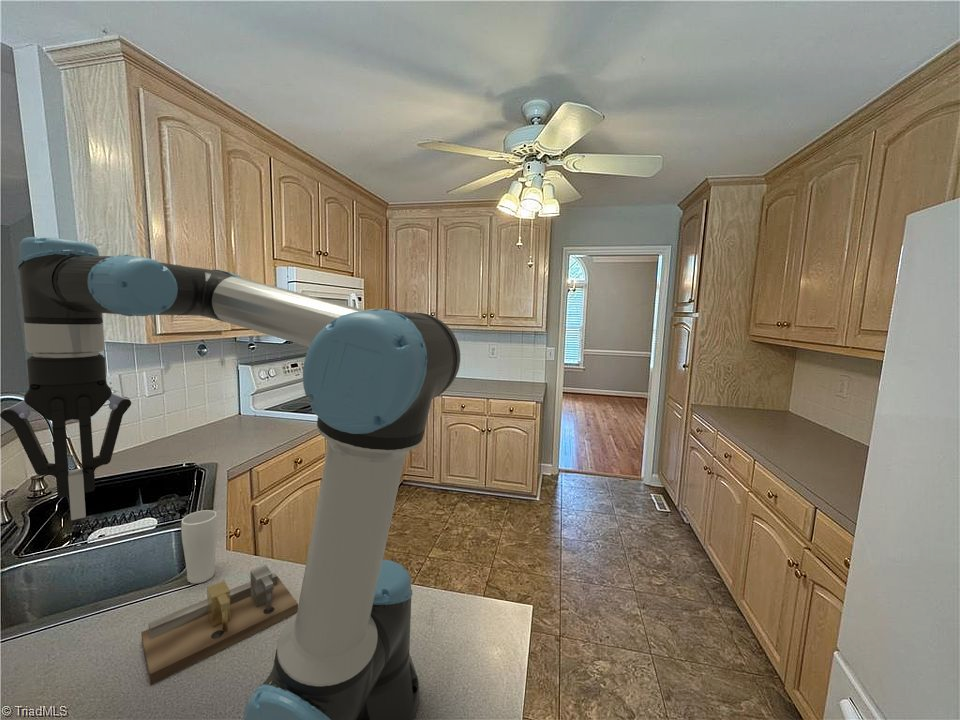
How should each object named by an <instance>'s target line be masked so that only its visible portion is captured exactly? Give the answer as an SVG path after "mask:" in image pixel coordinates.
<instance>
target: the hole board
mask: <svg viewBox="0 0 960 720" xmlns="http://www.w3.org/2000/svg"><path fill="white" fill-rule="evenodd" d="M249 572H250V574H249V575H250V581H248V582H246V583H244V584H241V585H237V586H236V587H233V588H231V589H229V590H230V612H231V619H229V620H228V629H227V630H225V631H223V630H222V623H220V624H218V625H216V626H214V627H213V626H212V624H211V622H210V619H209V617H208V606H207V598H206V599H204V600H201V601H198V602H196V603H193V604H191V605H189V606H187V607H184V608H182V609H179V610H176V611H174V612H172V613H169V614H167V615H164V616H161V617H158V618H156V619H154V620H152V621H149V622H148V628H147V629H146V630H143V631H141V632H140V633H141V645H142V650H143V654H144V659H145V664H146V668H147V674H148V678H149V685H150V686H151V685H154V684H155V683H158V682H160V681H162V680H164V679H166V678H168V677H170V676H172V675H174V674H177V673H178V672H180V671H182V670H184V669H186V668H188V667H191V666H192V665H195V664H197V663H199V662H201V661H202V660H205V659H206V658H208V657H210V656H212V655H213V656H214V655H215V654H217V653H219V652H221V651H223V650H225V649H227V648H228V647H231V646H233V645H235V644H237V643H239V642H241V641H243V640H246V639H247V638H249V637H251V636H254V635H256V634H257V633H260V632H262V631H263V630H265V629H266V630H267V629H268V628H269V627H272V626H274V625H276V624H277V623H280V622H282V621H284V620H286V619H288V618H289V617H290V618H291V617H292V616H294V615H295V614H296V613H297V610H298V605H299V602H298V601H296V600H295V598H294V596H293V595H292V593H291V592H290V591H289V590H288V588H287V587H286V586H285V584H284V583H283V581H282V580H281V579H280V577H279V576H278V575H277V574H276V573H275V571H273V572H272V571H271V570H270V569H269V567H268V565H266V564H265V565H262V566H259V567H256V568H254V569H251V570H250V571H249Z"/></svg>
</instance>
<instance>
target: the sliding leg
mask: <svg viewBox="0 0 960 720" xmlns="http://www.w3.org/2000/svg"><path fill="white" fill-rule="evenodd" d="M230 590H231V589H230V588H229V587H228V584H227V582H226V581H225V580H222V581H220V582H216V583H214V584H212V585H209V586H207V587H206V594H207V595H206V596H207V597H206V599H207V606H208V617H209V619H210V622H211V624H212V626H213V627H214V626H216V625H218V624H220V623H222V630H223V631H225V630H227V629H228V620H229V619H231V612H230Z"/></svg>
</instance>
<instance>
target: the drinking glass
mask: <svg viewBox="0 0 960 720" xmlns="http://www.w3.org/2000/svg"><path fill="white" fill-rule="evenodd" d="M217 514H218V513H217V511H215V510H212V509H205V510H204V509H203V510H198V511H194V512H191V513H189V514H187V515H185V516H184V517H183V518H182V519H181V524H180V525H181V532H180V533H181V542H182V548H183V554H184V560H185V561H184V562H185V568H186V569H185V570H186V580H187V582H188V583H189V582H190V583H189V584H193V585H194V584H195V585H197V584H202V583H204V582H207V581H209V580H210V579H211V578H213V577H214V576H215V573H216V556H217V555H216V554H217V553H216V552H217V541H218V539H217V538H218V516H217Z"/></svg>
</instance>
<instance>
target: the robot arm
mask: <svg viewBox="0 0 960 720" xmlns="http://www.w3.org/2000/svg"><path fill="white" fill-rule="evenodd" d="M18 245H19V248H18V250H19V252H18V254H19V257H18V258H19V259H18V260H19V261H18V262H17V268H18V270H19V271H18V272H19V281H20V282H19V283H20V291H21V302H22V311H23V318H24V319H23V320H24V322H23V329H24V330H23V331H24V341H25V351H26V352H28V354H29V353H30V354H33V355H32V356H28V358H27V359H26V364H27V365H26V366H27V379H28V390H27V392H26V393H25V395H24V397H23V399H22V400H21V401H19V402H18V403H16V404H14V405H13V404H12V406H5V407H4V408H2V410H1V411H0V418H1V419H2V420H3V421H5V422H6V423H7V424H8V425H10V426H12V427H13V430H14V431H15V433H16V435H17V437H18V439H19V440H18V441H20V444H21V446H22V447H23V450H24V452H25V454H26V455H27V457H28V460H29V462H30V464H31V466H32V468H33V470H34V472H35V474H36V475H38V476H53V477H54V478H55V482H56V493H57V496H58V498H59V499H62V498H68V497H69V508H70V521H75V520H79V519H83V518H86V517H87V516H86V515H87V514H86V513H87V512H86V500H85V498H86V496H85V494H86V493H91V492H95V489H96V478H95V471H96V470H97V468H99V467H101V466H105V465H108V464H109V463H111V460H112V457H113V454H114V449H115V446H116V443H117V438H118V435H119V431H120V428H121V424H122V420H123V416H124V414H125V413H126V412H127V411H128V410H129V408H130V407H131V405H132V401H131V399H130V398H129V397H128V396H121V395H117V394H115V393H113V392H112V389H111V387H110V386H109V385H108V383H107V369H106V357H105V356H104V355H103V354H101V353H100V352H103V351H104V350H105V348H106V347H105V335H104V332H105V331H104V319H103V314H112V315H121V316H125V317H148V316H190V317H191V316H196V317H205V318H210V319H213V320H216V321H220V322H223V323H228V324H232V325H235V326H237V327H241V328H244V329H248V330H250V331H254V332H258V333H261V334H263V335H264V334H265V335H268V336H271V337H275V338H278V339H281V340H285V341H287V342H291V343H295V344H298V345H301V346H304V347H308V350H307V352H306V355H305V358H304V362H303V365H302V366H303V368H302V384H303V385H302V386H303V390H304V394H305V396H306V397H309V398H310V401H311V403H310V404H309V406H310V408H311V409H312V411H313V413H314V414H315V415H316V416H317V421H316V429H317V431H318V433H319V434H320V435H321V436H322V437H323V438H324V439H325V440H326V442H328V444H327V449H326V454H325V460H324V466H323V470H322V477H321V481H320V487H319V492H318V498H317V502H316V509H315V513H314V519H313V526H312V530H311V536H310V540H309V547H308V551H307V557H306V563H305V567H304V574H303V579H302V584H301V589H300V594H299V595H300V596H299V601H298V610H297V613H296V614H294V615H292V616H290V618H289V619H288V621H287V622H286V623H285V625H284V626H283V628H282V629H281V631H280V634H279V637H278V639H277V644H276V649H275V655H274V660H273V665H272V669H271V671H270V673H269V675H268V676H267V678H266V679H265V681H264V682H263V683H262V684H260V685H258V686H257V687H256V689H255V690H253V691H254V692H253V694H252V695H251V697H250V698H249V700H248V702H247V703H246V706H245V709H244V717H243V718H244V720H414V718H415V716H416V714H417V711H418V707H419V702H420V701H419V700H420V698H419V697H420V685H419V684H420V682H419V677H418V674H417V672H416V668H415V665H414V663H413V659H412V656H411V654H410V649H411V648H410V647H411V646H410V644H411V641H410V640H411V622H412V621H411V618H412V615H411V614H412V597H413V596H412V595H413V589H412V577H411V575H410V572H409V571H408V570H407V569H406V567H405V566H403V565H402V564H400V563H398V562H396V561H393V560H389V559H384V555H385V551H386V546H387V541H388V537H389V533H390V532H389V531H390V527H391V524H392V518H393V514H394V511H395V504H396V501H397V494H398V491H399V486H400V482H401V477H402V473H403V469H404V463H405V459H406V454H407V453H408V452H411V451H413V449H415V448H418V446H420V445H421V443H422V442H423V439H424V435H425V431H426V426H427V421H428V417H429V412H430V408H431V404H432V400H433V399H435V398H436V397H439V396H441V395H442V394H443V393H444V392H445V391H447V389H449V388H450V386H451V385H453V382H454V381H455V379H456V377H457V375H458V373H459V370H460V365H461V349H460V344H459V342H458V340H457V337H456V335H455V333H454V332H453V330H452V329H451V327H449V326H448V325H447V324H446V323H445V322H443V321H442V320H440V319H439V318H438V317H436V316H433V315H432V314H428V313H424V312H410V311H409V312H407V311H399V310H393V309H390V308H386V307H385V308H372V309H366V310H365V309H361V308H358V307H354V306H351V305H347V304H343V303H339V302H336V301H331V300H327V299H324V298H320V297H317V296H313V295H308V294H305V293H301V292H298V291H293V290H289V289H285V288H283V287H278V286H274V285H270V284H267V283H263V282H260V281H256V280H252V279H247V278H244V277H242V276H240V275H239V274H237V273H234V272H233V273H232V272H229V271H225V270H219V269H207V268H200V267H192V266H186V265H185V266H184V265H181V264H180V265H179V264H173V263H167V262H161V261H160V262H159V261H157V260H156V259H152V258H149V257H144V256H137V255H136V256H134V255H129V254H118V255H100V254H99V249H98V247H96V246H95V245H94V244H90V243H87V242H83V241H80V240H79V241H78V240H72V239H71V240H70V239H65V238H57V237H56V238H55V237H42V236H29V237H24V238H22V239H21V240H20V242H19V244H18ZM108 401H109V404H108V407H109V409H110V410H111V412H110V414H109V417H108V422H107V425H106V428H105V432H104V436H103V439H102V442H101V446H100V451H99V454H98V455H95V456H94V446H93V431H92V428H93V427H92V417H94V416H95V415H96V414H97V413H98V411H100V409H101V408H102V407H103V406H104V405H105V403H106V402H108ZM29 408H31V409H33V410H34V411H35V412H37V413H38V414H39V415H40V416H42V417H43V418H45V419H46V420H48V421H51V427H52V441H53V452H54V453H53V455H54V457H53V458H54V463H50V462H49V461H48V458H47V456H46V453H45V452H44V449H43V448H42V445H41V444H40V441H39V439H38V437H37V436H36V433H35V431H34V428H33V427H32V425H31V422H30V421H29V419H28V418H29V417H30V415H31V412H30V411H29ZM71 420H78V424H79V425H78V427H79V437H80V438H79V439H80V441H79V442H80V454H81V456H80V457H81V468H77V469H69V458H68V457H69V456H68V455H69V453H68V440H67V427H66V422H68V421H71Z"/></svg>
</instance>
